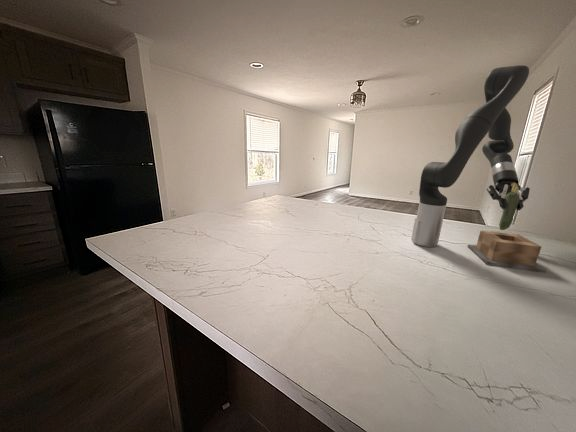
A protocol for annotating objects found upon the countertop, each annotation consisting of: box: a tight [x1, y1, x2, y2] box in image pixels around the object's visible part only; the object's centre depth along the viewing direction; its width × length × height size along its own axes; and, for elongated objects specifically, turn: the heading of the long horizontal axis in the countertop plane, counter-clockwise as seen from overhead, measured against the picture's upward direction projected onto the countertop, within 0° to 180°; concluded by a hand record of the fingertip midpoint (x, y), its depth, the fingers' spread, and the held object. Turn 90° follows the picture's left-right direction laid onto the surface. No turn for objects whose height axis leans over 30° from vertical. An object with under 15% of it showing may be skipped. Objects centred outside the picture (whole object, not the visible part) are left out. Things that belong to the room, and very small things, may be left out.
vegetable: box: [498, 182, 519, 231], centre depth 92 cm, size 4×4×20 cm
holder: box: [467, 230, 547, 274], centre depth 82 cm, size 16×16×8 cm
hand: (512, 208), depth 90 cm, fingers closed on vegetable, 4 cm apart
